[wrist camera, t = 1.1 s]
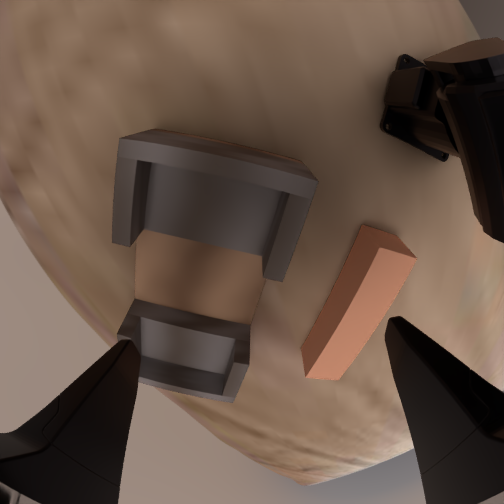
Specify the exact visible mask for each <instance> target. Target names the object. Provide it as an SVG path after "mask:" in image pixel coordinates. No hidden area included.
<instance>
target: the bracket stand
mask: <svg viewBox="0 0 504 504" xmlns="http://www.w3.org/2000/svg"><path fill="white" fill-rule="evenodd" d="M317 184H318V180H317V179H316V178H315V177H314V176H313V174H312V173H311V172H310V171H309V170H308V168H307V167H306V166H305V165H304V164H303V162H302V161H299V160H295V159H292V158H288V157H285V156H281V155H277V154H274V153H270V152H266V151H262V150H258V149H254V148H250V147H246V146H242V145H238V144H233V143H229V142H224V141H220V140H215V139H210V138H205V137H200V136H195V135H189V134H184V133H178V132H172V131H166V130H159V129H151V130H147V131H144V132H140V133H136V134H133V135H129V136H125V137H122V138H119V146H118V154H117V163H116V173H115V185H114V199H113V222H112V243H116V244H120V245H124V246H128V247H130V246H131V245H132V244H133V242H134V241H135V240H136V238H137V241H136V263H135V299H134V301H133V303H132V305H131V307H130V309H129V311H128V313H127V315H126V317H125V319H124V321H123V323H122V325H121V327H120V329H119V331H118V333H117V339H118V342H119V341H120V340H122V339H130V340H132V341H133V342H134V344H135V346H136V347H137V349H138V351H139V353H140V355H141V364H140V372H139V380H138V382H140V383H143V384H147V385H151V386H154V387H158V388H162V389H166V390H170V391H174V392H178V393H183V394H187V395H192V396H197V397H202V398H207V399H212V400H218V401H224V402H230V403H233V402H234V400H235V397H236V395H237V393H238V390H239V388H240V386H241V383H242V381H243V379H244V376H245V374H246V372H247V369H248V367H249V359H250V325H251V322H252V319H253V316H254V313H255V310H256V307H257V305H258V302H259V299H260V296H261V293H262V290H263V287H264V284H265V281H266V279H271V280H275V281H280V282H283V279H284V277H285V274H286V271H287V269H288V266H289V263H290V261H291V258H292V255H293V252H294V250H295V247H296V244H297V241H298V239H299V236H300V233H301V230H302V228H303V225H304V222H305V219H306V216H307V213H308V211H309V208H310V205H311V202H312V199H313V196H314V193H315V190H316V187H317Z"/></svg>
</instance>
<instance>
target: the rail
mask: <svg viewBox="0 0 504 504" xmlns="http://www.w3.org/2000/svg"><path fill="white" fill-rule="evenodd" d="M416 260H417V258H416V257H415V256H414V254H413V253H412V252H411V251H410V250H409V249H408V248H407V246H406V245H405V244H404V243H403V242H402V241H401V240H400V239H399V238H398V237H397V236H396V235H393V234H390V233H387V232H384V231H381V230H378V229H375V228H372V227H369V226H365V225H362V226H361V228H360V231H359V233H358V235H357V238H356V240H355V242H354V244H353V247H352V249H351V251H350V253H349V255H348V258H347V260H346V262H345V264H344V266H343V268H342V271H341V273H340V275H339V277H338V279H337V281H336V283H335V285H334V287H333V289H332V291H331V293H330V295H329V297H328V299H327V301H326V303H325V305H324V307H323V309H322V311H321V313H320V315H319V317H318V319H317V320H316V322H315V324H314V326H313V328H312V330H311V332H310V333H309V335H308V337H307V339H306V341H305V343H304V344H303V346H302V348H301V351H302V357H303V364H304V371H305V377H306V378H316V379H328V380H339V379H340V377H341V376H342V375H343V374H344V372H345V371H346V370H347V368H348V367H349V366H350V364H351V363H352V362H353V360H354V359H355V358H356V356H357V355H358V354H359V352H360V351H361V349H362V348H363V347H364V345H365V344H366V342H367V341H368V339H369V338H370V336H371V335H372V334H373V332H374V331H375V329H376V328H377V326H378V325H379V323H380V321H381V320H382V318H383V317H384V315H385V314H386V312H387V311H388V309H389V307H390V306H391V304H392V302H393V301H394V299H395V297H396V296H397V294H398V292H399V291H400V289H401V287H402V286H403V284H404V282H405V280H406V278H407V277H408V275H409V273H410V271H411V269H412V268H413V266H414V264H415V262H416Z"/></svg>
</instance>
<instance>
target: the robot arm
mask: <svg viewBox="0 0 504 504" xmlns="http://www.w3.org/2000/svg"><path fill="white" fill-rule="evenodd" d="M404 58H405V59H406V60H407V63H405V61H404ZM423 61H424V62H425V64H426V65H424V64H423V63H421V62H419V61H418V60H416V59H414V58H413V57H411V56H409V55H407V54H403V55H401V56H399V59H398V63H397V67H396V71H394V72H392V75H391V79H390V83H389V86H388V90H387V94H386V97H385V104H386V107H385V110H384V114H383V117H382V120H381V124H380V127H381V130H382V131H383V132H385V133H387V134H389V135H391V136H394V137H396V138H398V139H400V140H402V141H404V142H406V143H408V144H410V145H412V146H414V147H416V148H418V149H420V150H422V151H423V152H425V153H427V154H429V155H431V156H433V157H434V158H436V159H438V160H440V161H442V162H445V161H447V159H448V157H449V154H451V155H454V156H456V157H459V158H460V159H461V162H462V165H463V169H464V172H465V176H466V180H467V184H468V188H469V192H470V196H471V201H472V205H473V210H474V214H475V216H476V218H477V219H478V221H479V222H480V224H481V225H482V226H483V231H484V232H485V233H486V234H487V235H489V236H490V237H492V238H493V239H495V240H498V241H500V242H502V243H504V41H503V40H501V39H500V38H497V37H495V38H488V39H481V40H475V41H470V42H467V43H465V44H462V45H459V46H457V47H454V48H451V49H449V50H446V51H444V52H441V53H439V54H436V55H434V56H432V57H429V58H427V59H425V60H423ZM387 123H388V124H389V129H386V124H387ZM442 153H443V157H442V156H441V155H442ZM385 343H386V347H387V351H388V355H389V360H390V364H391V369H392V373H393V378H394V381H395V384H396V387H397V390H398V393H399V396H400V399H401V403H402V406H403V409H404V412H405V416H406V419H407V423H408V426H409V430H410V433H411V437H412V441H413V445H414V448H415V452H416V456H417V461H418V465H419V469H420V474H421V479H422V483H423V488H424V494H425V499H426V504H504V392H502V391H501V390H499V389H498V388H496V387H495V386H493V385H492V384H490V383H489V382H487V381H486V380H485V379H483V378H482V377H481V376H479V375H478V374H477V373H475V372H474V371H473V370H472V369H471V370H470V368H469V367H468V366H466V365H465V364H464V363H463V362H461V361H460V360H459V359H457V358H456V357H455V356H454V355H452V354H451V353H450V352H448V351H447V350H446V349H444V348H443V347H442V346H440V345H439V344H438V343H436V342H435V341H434V340H432V339H431V338H430V337H428V336H427V335H426V334H424V333H423V332H422V331H420V330H419V329H418V328H416V327H415V326H414V325H412V324H411V323H410V322H408V321H407V320H406V319H404V318H403V317H401V316H396V317H391V318H389V320H388V324H387V328H386V332H385ZM140 364H141V355H140V353H139V351H138V349H137V347H136V346H135V344H134V342H133V341H132V340H130V339H122V340H120V341H119V342H118V343H116V344H115V345H114V346H113V347H112V348H111V349H110V350H109V351H107V352H106V353H105V354H104V355H103V356H102V357H101V358H100V359H98V360H97V361H96V362H95V363H94V364H93V365H92V366H91V367H89V368H88V369H87V370H86V371H85V372H84V373H83V374H82V375H80V376H79V377H78V378H77V379H76V380H75V381H74V382H73V383H72V384H70V385H69V386H68V387H67V388H66V389H65V390H64V391H63V392H62V393H60V395H58V396H57V397H56V398H55V399H54V400H53V401H52V402H51V403H49V404H48V405H47V406H46V407H45V408H44V409H42V410H41V411H40V412H39V413H38V414H36V415H35V416H33V417H32V418H31V419H30V420H29V421H27V422H26V423H24V424H23V425H22V426H20V427H19V428H18V429H16V430H14V431H12V432H9V433H0V504H118V499H119V491H120V483H121V476H122V469H123V462H124V457H125V451H126V445H127V440H128V434H129V429H130V424H131V419H132V414H133V410H134V405H135V400H136V395H137V388H138V380H139V372H140Z"/></svg>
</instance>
